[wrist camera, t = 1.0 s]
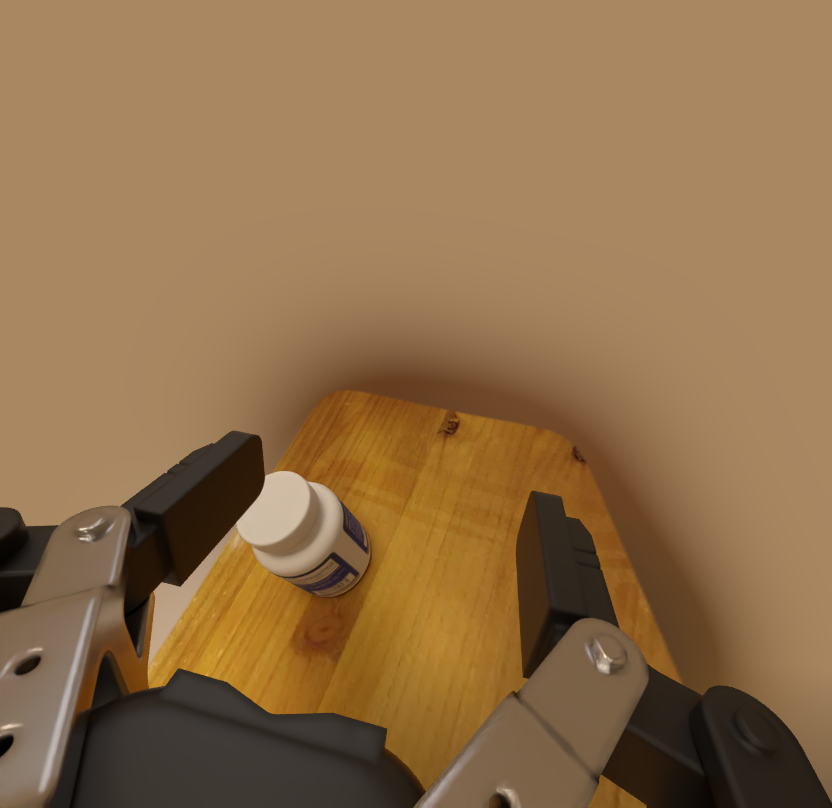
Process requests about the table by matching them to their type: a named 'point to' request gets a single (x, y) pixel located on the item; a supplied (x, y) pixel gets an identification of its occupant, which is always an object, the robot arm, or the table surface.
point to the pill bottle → (306, 535)
